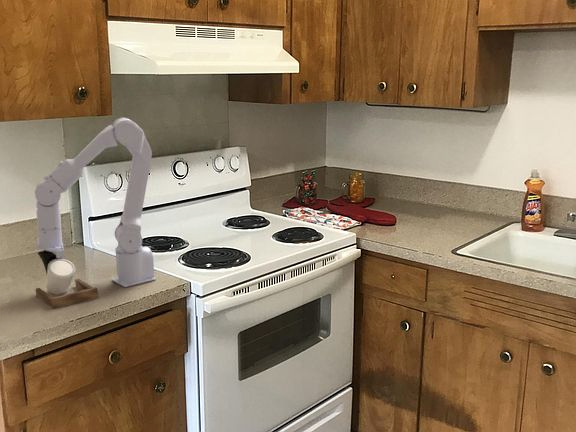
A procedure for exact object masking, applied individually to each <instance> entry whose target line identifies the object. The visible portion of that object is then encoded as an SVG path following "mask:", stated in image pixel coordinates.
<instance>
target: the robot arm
mask: <svg viewBox="0 0 576 432" xmlns="http://www.w3.org/2000/svg"><path fill="white" fill-rule="evenodd" d="M118 142H119V143H120V144H121V145H123V146H124V147H126V149H127V150H128V152H129V153H130V154H131V156H132V159H131V163H130V164H131V165H130V169H129V170H130V171H129V175H128V181H127V186H126V187H127V189H126V193H125V199H124V205H123V212H122V214H121V215H120V216H121V217H120V221H119V224H118V225H117V226H116V228H115V229H114V237H115V239H116V241H117V244H118V245H117V246H116V248H114V249H115V260H116V272H117V273H116V274H117V277H113V278H111V280H112V281H113V282H115V283H116V284H118V285H120V286H122V287H123V288H127V287H132V286H136V285H140V284H143V283H147V282H151V281H155V280H156V277H155V264H154V254H153V252H152V250H151V248H150V247H148V246H143V237H142V234H141V232H142V231H141V230H142V212H143V207H144V203H145V198H146V197H145V196H146V191H147V186H148V185H147V184H148V179H149V173H150V168H151V162H152V156H153V151H152V149H151V147H150V144H149V142H148V140H147V138H146V135H145V132H144V130H143V129H142V128H141V127H140V126H139V125H138V124H137V123H136V122H134V121H133V120H131V119H129V118H127V117H119V118H116V119H115V120H114V121H113V122H112V124H109V125H108V126H106V127H104V129H103V130H101V131H100V132H99V133H98V134H97V135H96V136H95V137H94V138H93V139H92V140H91V141H90V142H89V143H88V144H87V145H86V146H85V147H84V148H83V149H82V150H81V151H80V152H79V153H78V154H77V155H76V156H75V157H74V158H72V159H71V158H70V159H68V158H65V160H63V161H62V160H60V161H58V163H57V167H56V168H55V169H54V170H53V171H52V172H51V173H50V174H48V175H47V174H46V175H45V176H43V179H44V180H42V181H40V182H38V183H37V184H36V186H35V189H34V194H35V195H34V196H35V199H36V201H37V202H36V222H37V223H36V224H37V225H36V227H37V238H36V244H35V245H33V248H34V249H35V250H41V251H38V252H37V254H38V256H39V257H40V259H41V261H42V264H43V266H44V269H45V273H46V274H47V270H48V264H49V263H50V261H52V260H54V259H63V258H66V249H64V243H63V231H62V222H61V221H62V218H61V217H62V216H61V209H60V205H59V201H60V200H61V194H63V193H66V192H67V191H68V190H69V189H70V188H71V187H72V186H73V185H74V184H75V183H77V181H78V180H80V178H82V177H83V175H84V171H83V170H84V168H85V167H86V166H87V165H88V164H89V163H91V161H92V160H94V159H95V158H96V157H98V156H99V154H101V153H102V152H103V151H104V150H105V149H107V148H113V147H117V146H119V145H118Z"/></svg>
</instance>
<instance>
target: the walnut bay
mask: <svg viewBox="0 0 576 432" xmlns="http://www.w3.org/2000/svg"><path fill="white" fill-rule="evenodd" d="M74 282H75V287H76V288H78V289H79V290H78V291H74V292H71V293H67V294H61V295H59V296H55V297H53V296H52V295H50V294H49V293H48V292H46V291H44V290H43V289H42V288H40V287H36V288H35V297H37V298H38V299H39V300H40V301H42V302H43V303H45V304H46V305H48V306H49V307H50V308H52V309H53V310H54V308H55V309H58V308H62V307H66V306H70V305H74V304H79V303H81V302H85V301H89V300H93V299H94V300H95V299H97V298H99V292H98V291H99V290H98V287H96V286H95V287H93V286H92V285H90V284H88V283H87V282H85V281H84V280H81V279H80V278H76V279H75V280H74Z"/></svg>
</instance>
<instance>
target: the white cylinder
mask: <svg viewBox="0 0 576 432" xmlns="http://www.w3.org/2000/svg"><path fill="white" fill-rule="evenodd" d="M75 274H76V266H75V264H74V263H73V262H71V261H70V260H68V259H66V258H61V259H54V260H52V261H50V263H49V264H48V270H47V273H46V284H45V288H46V290H47V291H48V292H49V293H51V294H53V295H64V294H65V293H68V291H69V289H70V286H71V283H72V281H73V278H74V276H75Z"/></svg>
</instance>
